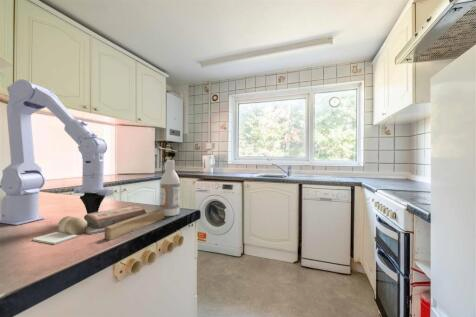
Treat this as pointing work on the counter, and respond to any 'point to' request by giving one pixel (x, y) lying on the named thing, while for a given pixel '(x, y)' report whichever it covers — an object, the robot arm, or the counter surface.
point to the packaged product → (110, 218)
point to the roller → (72, 225)
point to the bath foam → (170, 190)
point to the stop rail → (133, 224)
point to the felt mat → (55, 238)
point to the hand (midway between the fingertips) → (92, 216)
